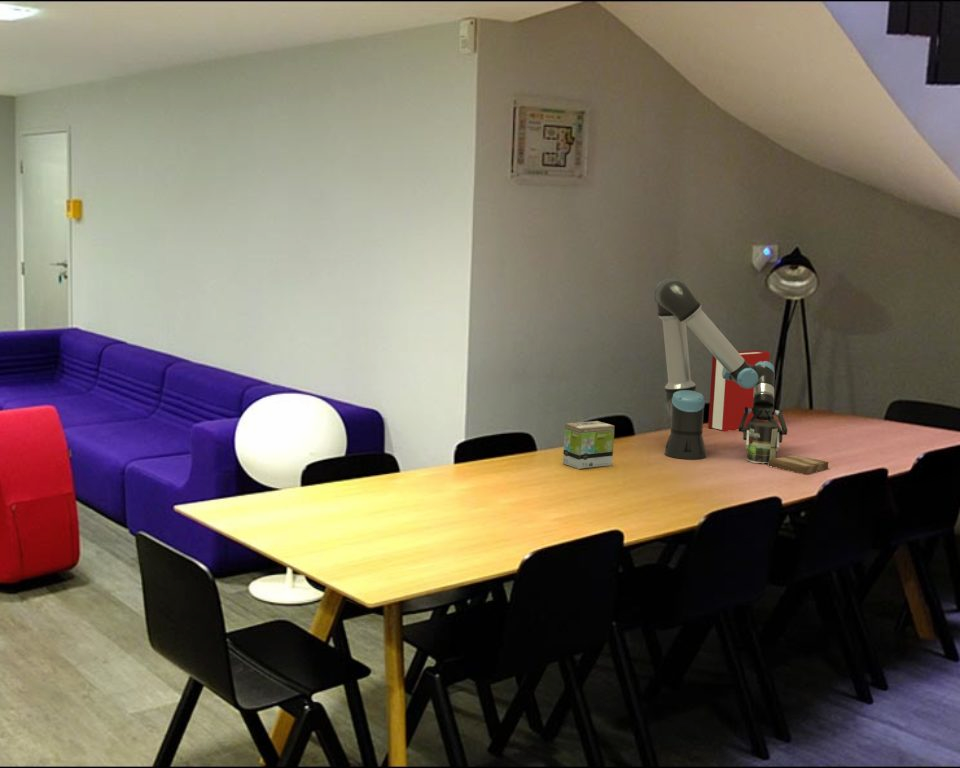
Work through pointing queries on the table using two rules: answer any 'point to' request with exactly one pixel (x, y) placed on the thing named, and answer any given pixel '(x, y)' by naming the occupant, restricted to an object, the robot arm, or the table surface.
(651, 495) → the table surface
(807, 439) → the table surface
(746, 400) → the book
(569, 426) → the tea box
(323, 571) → the table surface
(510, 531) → the table surface
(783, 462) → the walnut board
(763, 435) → the coffee can
